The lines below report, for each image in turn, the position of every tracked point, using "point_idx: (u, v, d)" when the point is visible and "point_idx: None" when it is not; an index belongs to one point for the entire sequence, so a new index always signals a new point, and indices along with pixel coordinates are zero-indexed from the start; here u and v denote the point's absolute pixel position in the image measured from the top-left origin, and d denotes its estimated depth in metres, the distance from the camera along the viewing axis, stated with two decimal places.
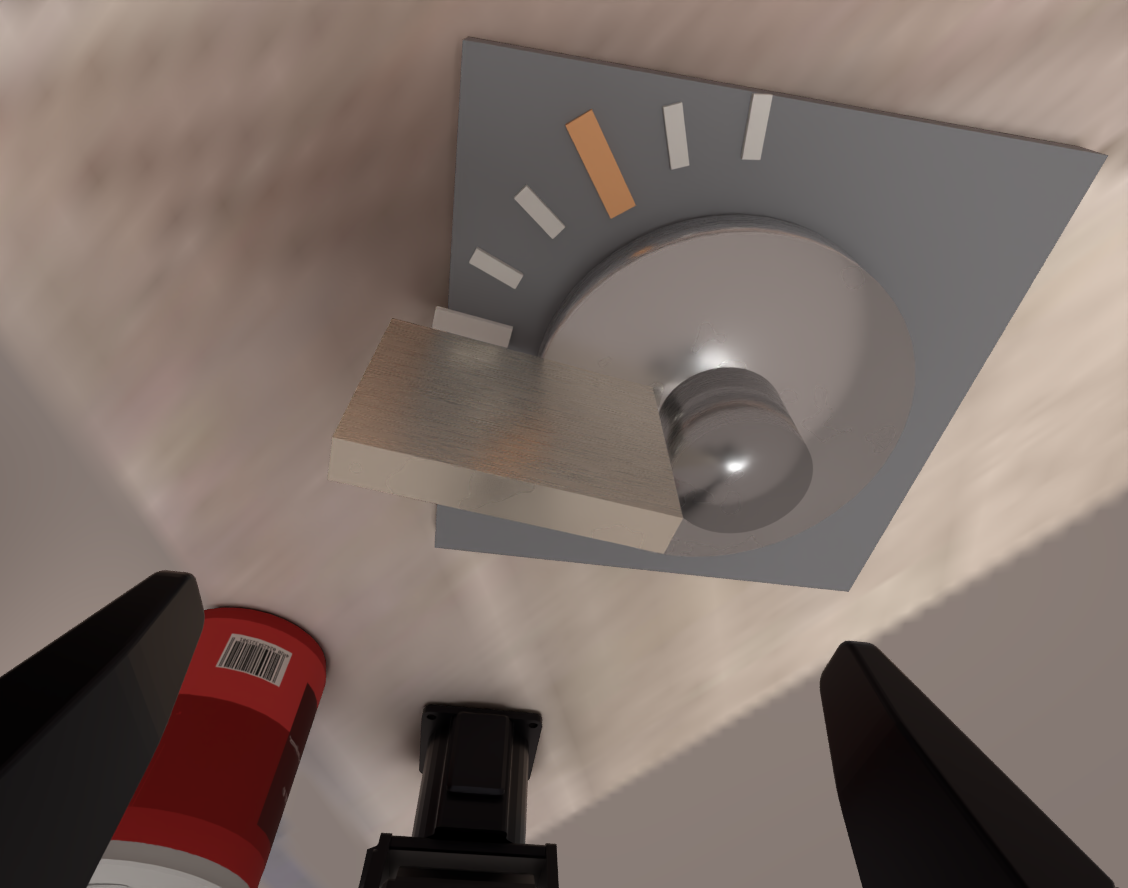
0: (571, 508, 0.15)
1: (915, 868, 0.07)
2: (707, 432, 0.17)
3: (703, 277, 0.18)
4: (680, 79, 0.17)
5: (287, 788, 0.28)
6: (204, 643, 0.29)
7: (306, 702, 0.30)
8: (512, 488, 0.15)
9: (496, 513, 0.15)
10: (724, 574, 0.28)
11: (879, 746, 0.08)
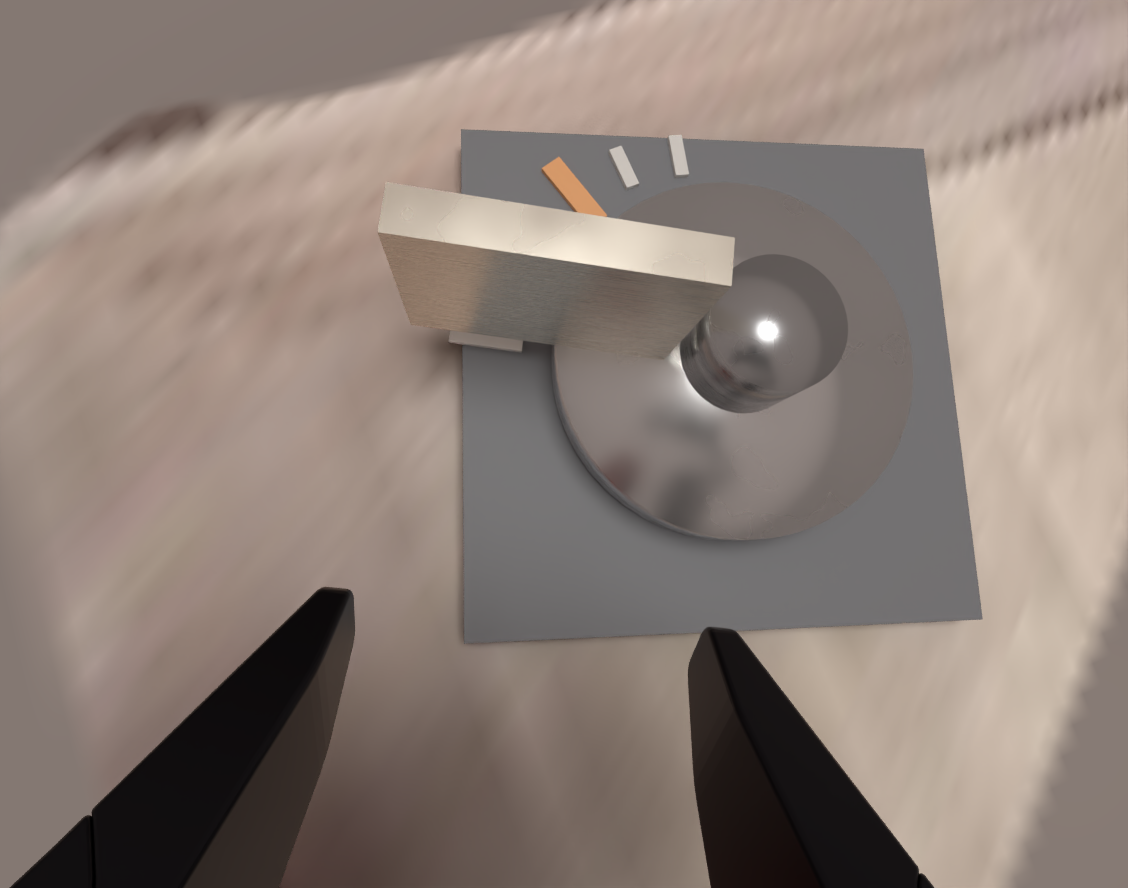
0: (625, 239, 0.15)
1: (744, 856, 0.07)
2: None
3: (677, 220, 0.22)
4: (615, 136, 0.24)
5: None
6: None
7: None
8: (563, 220, 0.15)
9: (551, 253, 0.14)
10: (827, 619, 0.22)
11: (722, 732, 0.08)
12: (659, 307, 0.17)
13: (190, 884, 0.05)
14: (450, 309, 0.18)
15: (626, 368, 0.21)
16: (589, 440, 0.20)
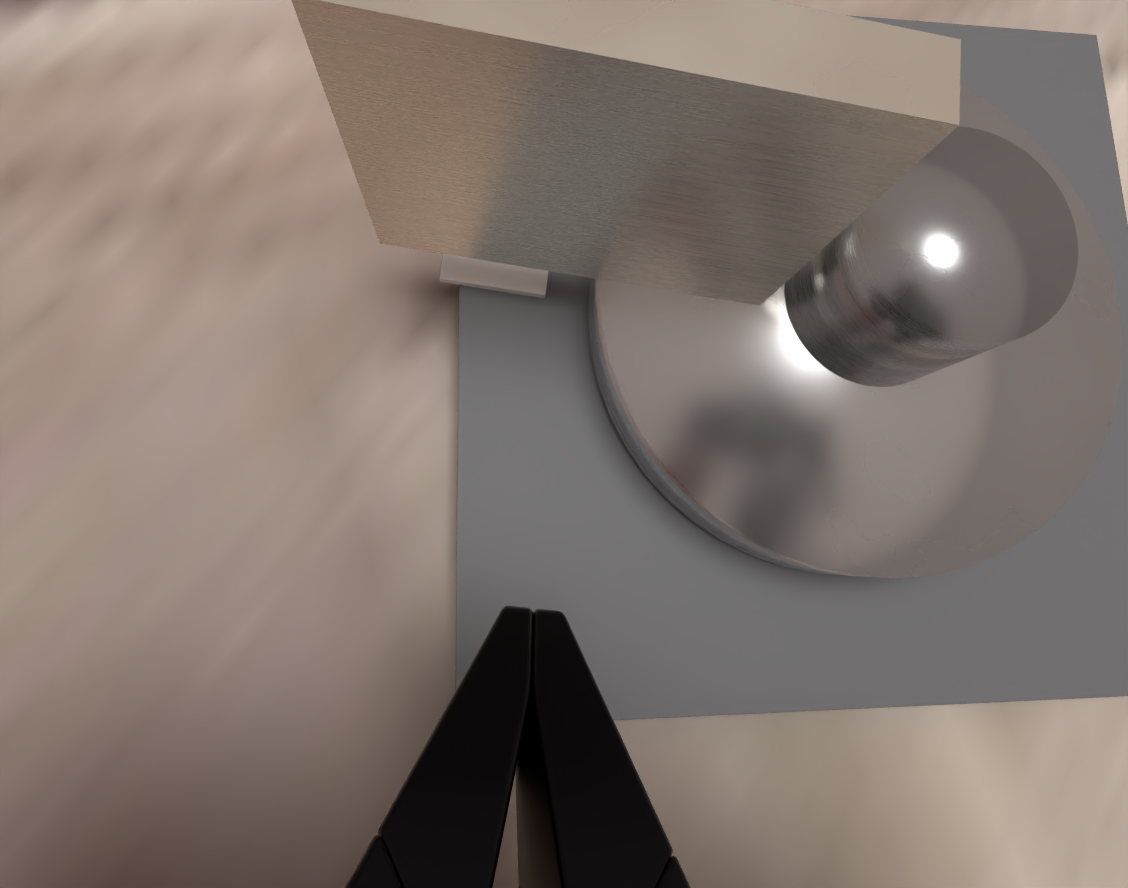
0: (762, 32, 0.08)
1: (532, 841, 0.07)
2: None
3: None
4: None
5: None
6: None
7: None
8: None
9: (626, 51, 0.08)
10: (987, 692, 0.15)
11: (527, 715, 0.08)
12: (796, 188, 0.10)
13: None
14: (439, 208, 0.11)
15: (704, 317, 0.14)
16: (651, 423, 0.13)
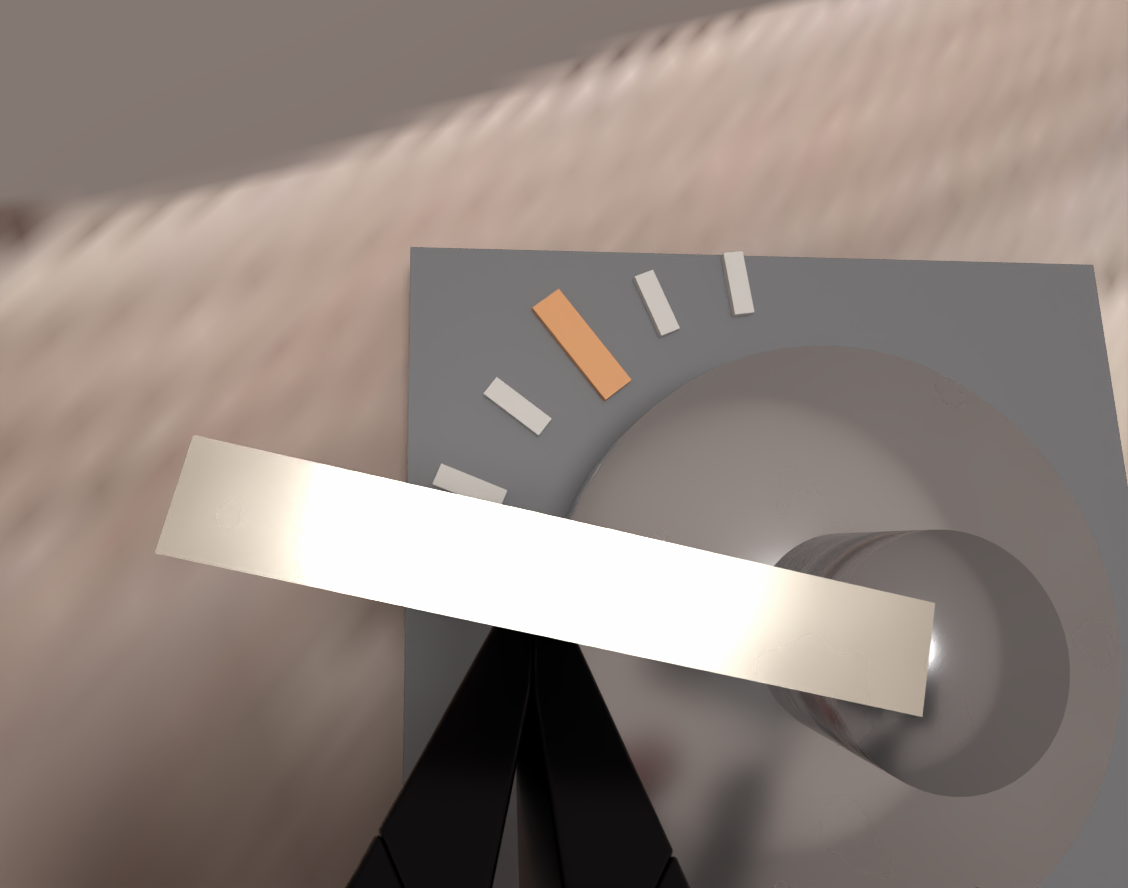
0: (703, 596, 0.07)
1: (532, 841, 0.07)
2: (866, 557, 0.10)
3: (767, 403, 0.14)
4: (644, 254, 0.16)
5: None
6: None
7: None
8: (573, 545, 0.07)
9: (541, 623, 0.07)
10: None
11: (528, 715, 0.08)
12: None
13: None
14: None
15: None
16: None
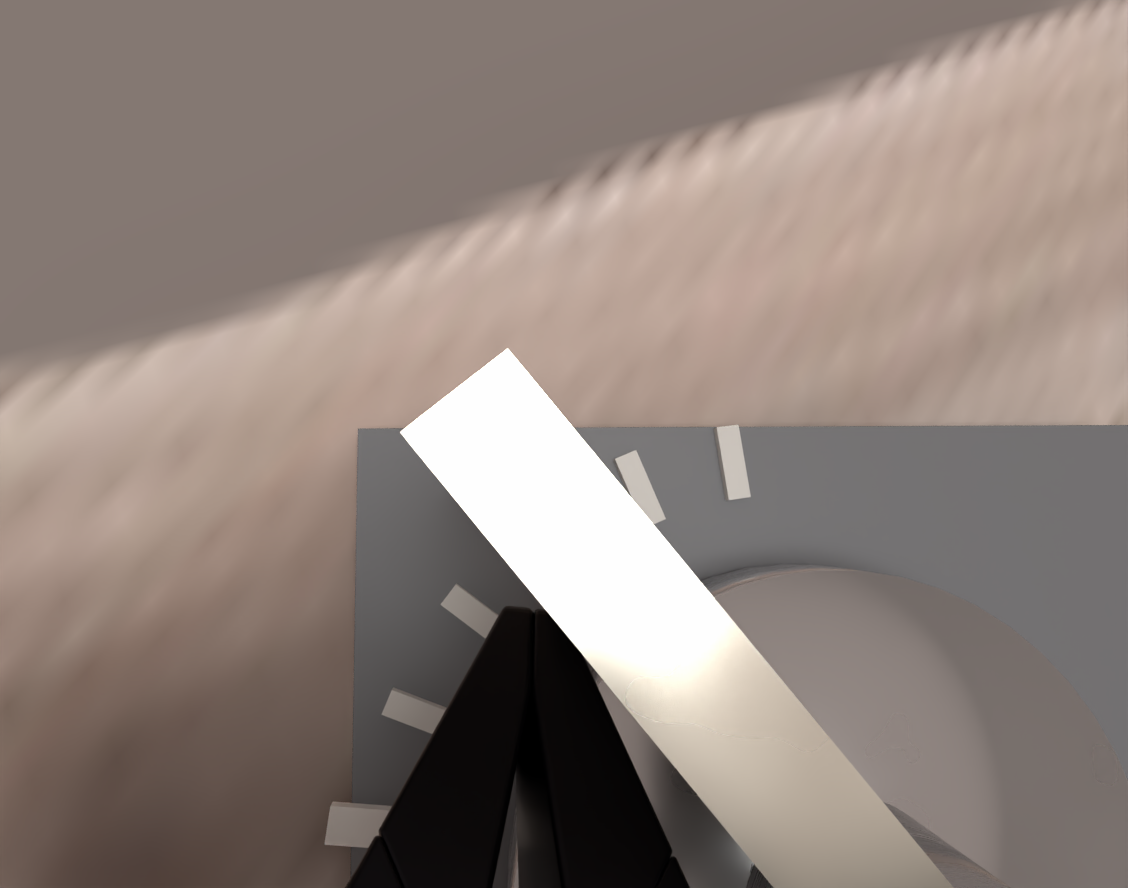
0: (864, 863, 0.06)
1: (531, 841, 0.07)
2: (961, 887, 0.09)
3: (926, 644, 0.12)
4: (626, 428, 0.14)
5: None
6: None
7: None
8: (775, 715, 0.06)
9: (692, 768, 0.06)
10: None
11: (527, 715, 0.08)
12: None
13: None
14: None
15: (673, 795, 0.11)
16: None
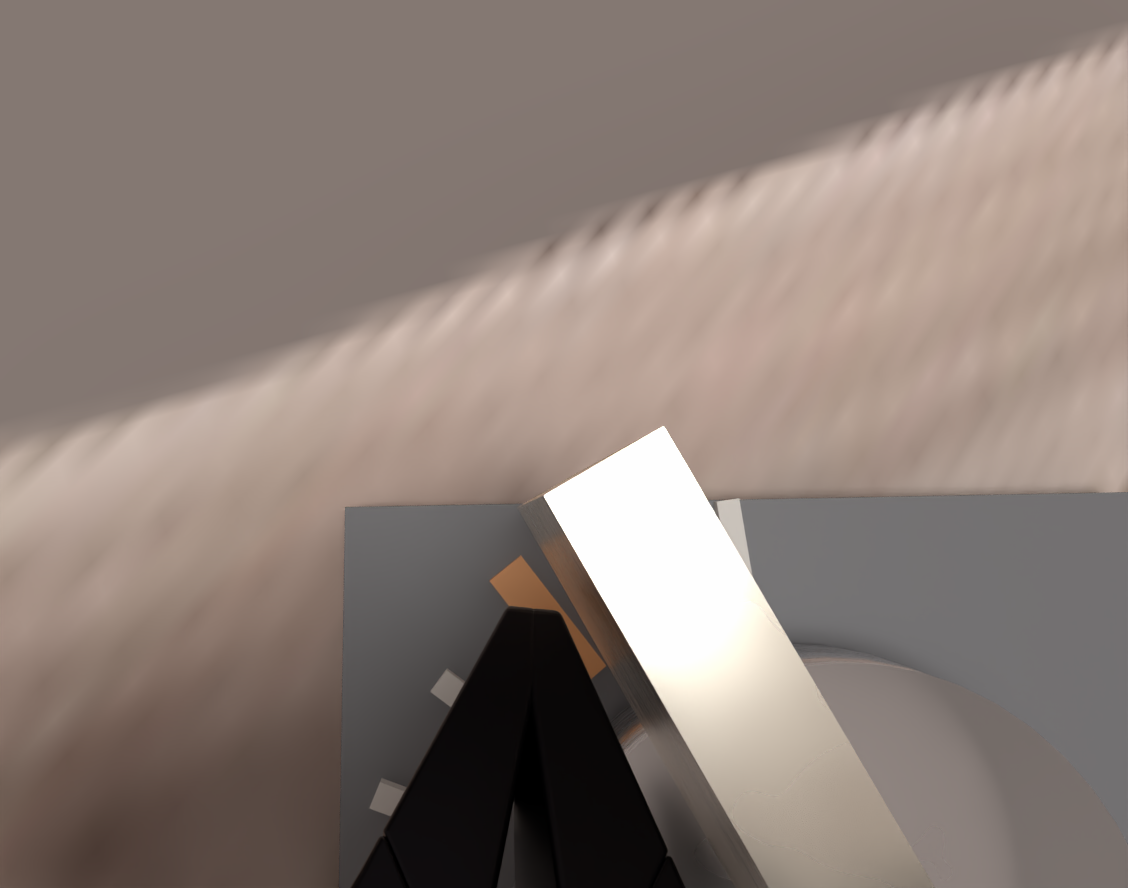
0: None
1: (528, 841, 0.07)
2: None
3: (974, 759, 0.12)
4: None
5: None
6: None
7: None
8: (881, 855, 0.05)
9: None
10: None
11: None
12: None
13: None
14: (567, 584, 0.09)
15: (694, 871, 0.11)
16: None
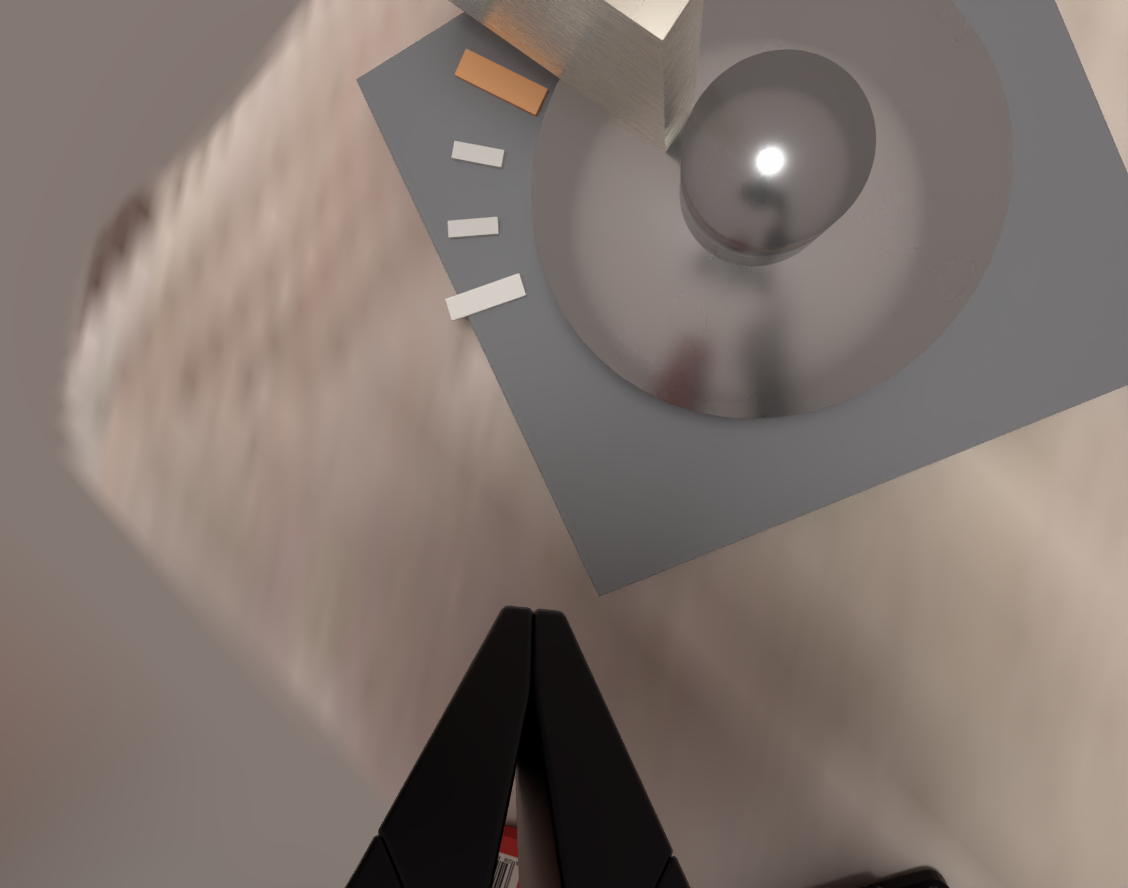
0: None
1: (532, 841, 0.07)
2: (753, 56, 0.14)
3: None
4: None
5: None
6: None
7: None
8: None
9: None
10: (983, 434, 0.19)
11: (528, 715, 0.08)
12: (614, 51, 0.13)
13: None
14: None
15: (619, 142, 0.17)
16: (539, 202, 0.18)
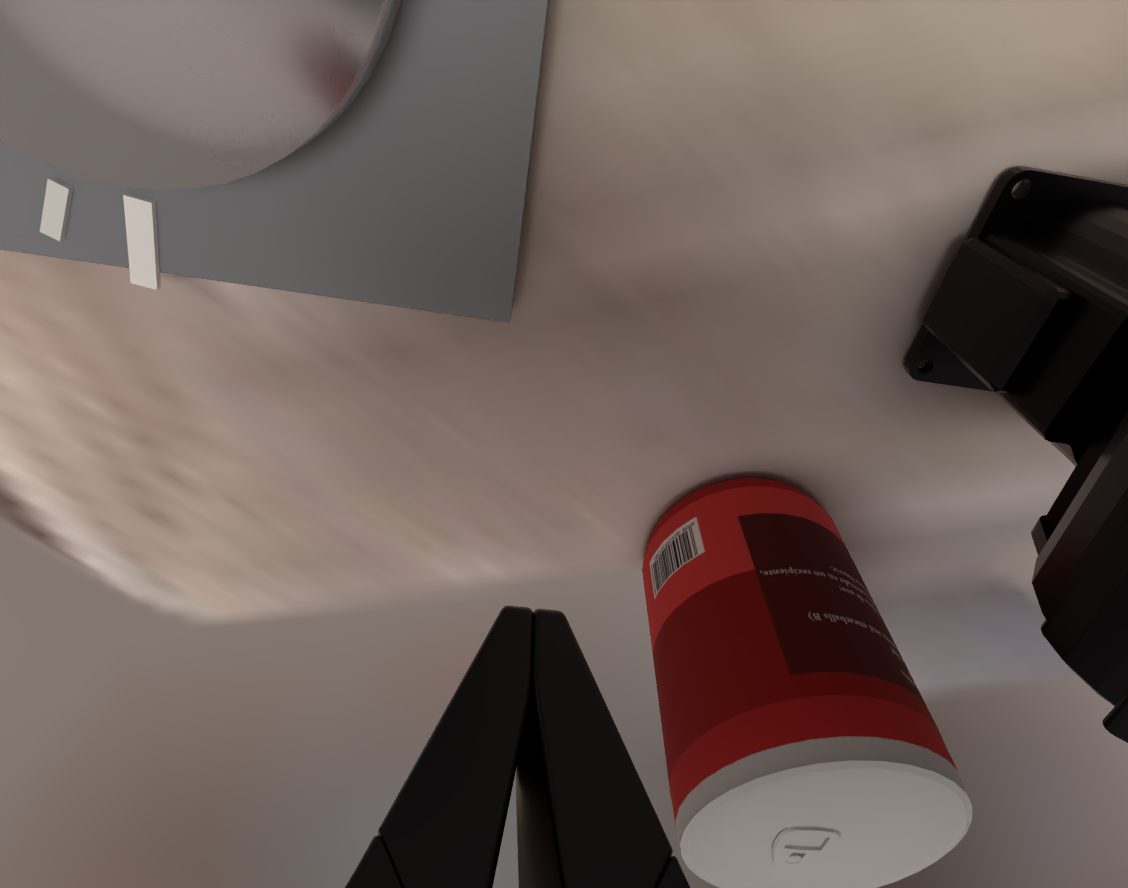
0: None
1: (532, 841, 0.07)
2: None
3: None
4: None
5: (821, 609, 0.19)
6: (646, 593, 0.24)
7: (757, 528, 0.21)
8: None
9: None
10: None
11: (527, 715, 0.08)
12: None
13: None
14: None
15: None
16: (9, 135, 0.14)
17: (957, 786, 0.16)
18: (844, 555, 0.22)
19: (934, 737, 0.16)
